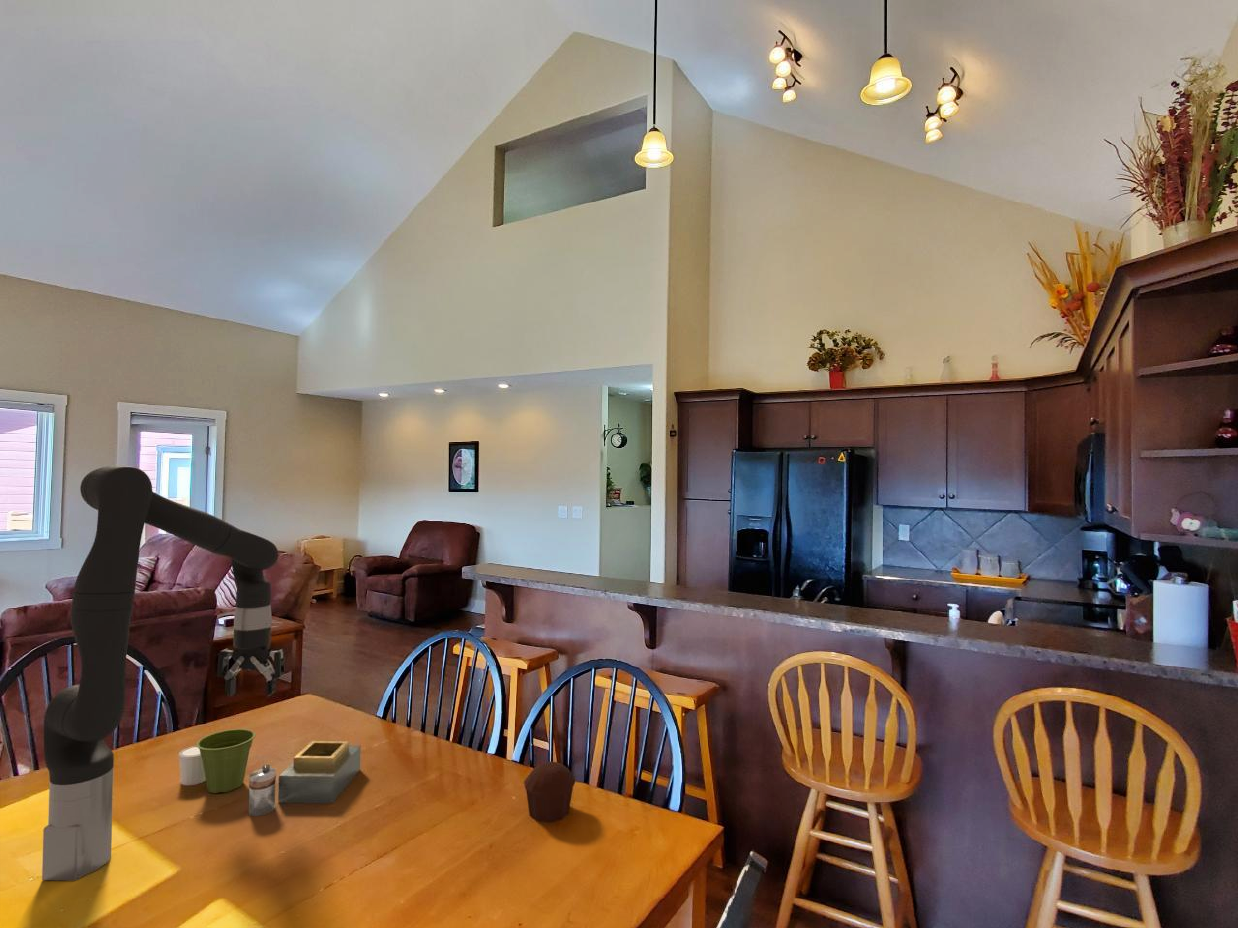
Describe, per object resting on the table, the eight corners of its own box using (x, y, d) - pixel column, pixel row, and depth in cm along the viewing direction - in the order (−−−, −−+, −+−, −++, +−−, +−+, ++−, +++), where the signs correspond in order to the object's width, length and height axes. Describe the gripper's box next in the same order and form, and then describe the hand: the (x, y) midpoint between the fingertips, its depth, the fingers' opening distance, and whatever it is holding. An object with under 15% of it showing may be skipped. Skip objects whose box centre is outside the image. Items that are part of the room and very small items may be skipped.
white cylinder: (199, 787, 148) (200, 757, 148) (170, 786, 148) (171, 756, 149) (218, 773, 155) (219, 744, 155) (191, 772, 155) (191, 743, 155)
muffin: (565, 829, 134) (566, 781, 134) (516, 822, 136) (516, 775, 136) (580, 800, 146) (580, 756, 146) (534, 794, 148) (535, 751, 148)
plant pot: (265, 775, 154) (266, 729, 154) (231, 801, 142) (232, 750, 143) (220, 772, 155) (221, 726, 156) (182, 797, 144) (183, 747, 144)
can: (267, 816, 137) (268, 774, 137) (243, 815, 137) (244, 774, 137) (279, 803, 142) (280, 763, 142) (256, 803, 142) (257, 763, 142)
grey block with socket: (331, 803, 142) (332, 765, 142) (278, 802, 142) (279, 764, 142) (360, 768, 159) (361, 734, 159) (312, 767, 159) (313, 733, 159)
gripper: (211, 628, 143) (209, 700, 142) (276, 629, 143) (273, 701, 143) (230, 620, 150) (228, 689, 150) (291, 621, 151) (289, 690, 151)
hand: (250, 695), depth 147 cm, fingers open, 8 cm apart
